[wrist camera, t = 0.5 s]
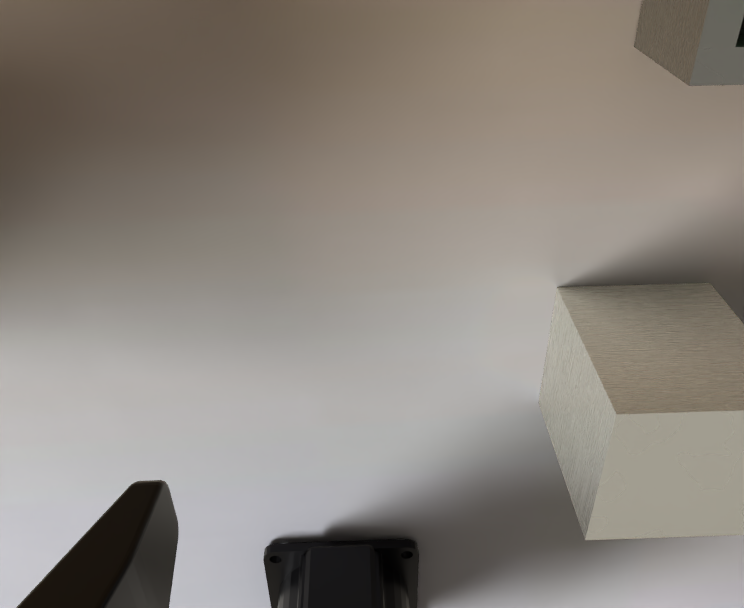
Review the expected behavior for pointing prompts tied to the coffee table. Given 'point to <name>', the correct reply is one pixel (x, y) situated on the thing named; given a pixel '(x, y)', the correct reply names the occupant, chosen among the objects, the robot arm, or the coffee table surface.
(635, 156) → the coffee table surface
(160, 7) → the coffee table surface
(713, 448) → the block
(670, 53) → the switch box
